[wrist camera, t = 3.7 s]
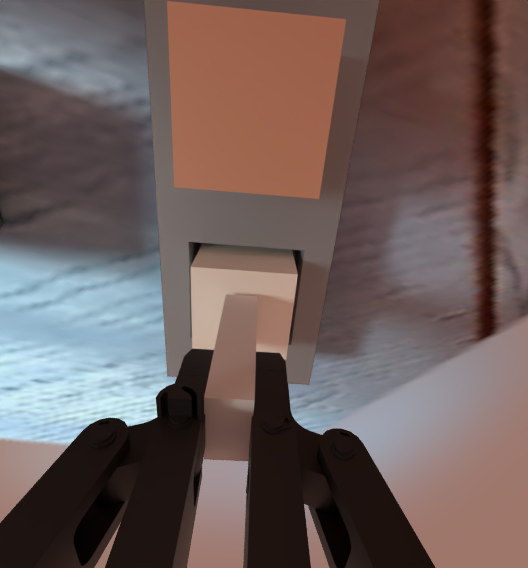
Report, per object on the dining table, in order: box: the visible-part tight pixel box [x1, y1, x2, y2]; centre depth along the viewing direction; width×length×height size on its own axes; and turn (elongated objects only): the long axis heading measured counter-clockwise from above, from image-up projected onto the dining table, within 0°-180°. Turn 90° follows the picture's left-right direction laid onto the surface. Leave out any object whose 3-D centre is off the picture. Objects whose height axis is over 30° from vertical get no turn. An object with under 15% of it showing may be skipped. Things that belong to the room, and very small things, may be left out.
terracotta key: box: [167, 1, 346, 199], centre depth 12 cm, size 5×5×5 cm
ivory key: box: [191, 243, 298, 359], centre depth 19 cm, size 5×5×5 cm
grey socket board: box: [144, 0, 379, 385], centre depth 16 cm, size 9×30×4 cm, turn 175°
